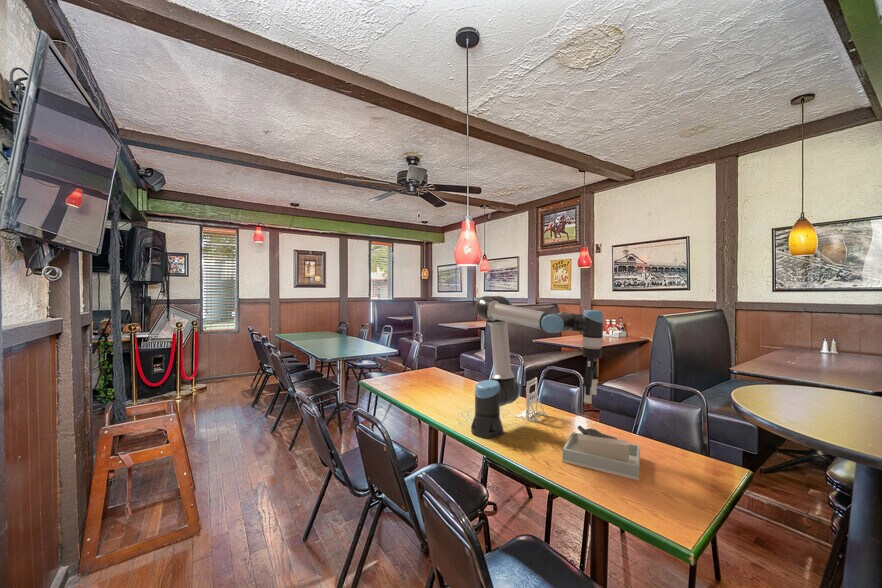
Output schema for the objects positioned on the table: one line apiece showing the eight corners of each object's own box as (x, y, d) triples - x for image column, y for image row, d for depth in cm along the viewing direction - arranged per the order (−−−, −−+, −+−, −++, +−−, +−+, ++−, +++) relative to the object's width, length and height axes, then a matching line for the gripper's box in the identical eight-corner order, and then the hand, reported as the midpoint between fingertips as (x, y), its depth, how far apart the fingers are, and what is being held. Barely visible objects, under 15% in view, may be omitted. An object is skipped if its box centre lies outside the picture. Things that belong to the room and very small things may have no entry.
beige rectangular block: (578, 454, 140) (578, 439, 140) (577, 449, 145) (577, 434, 145) (628, 461, 135) (628, 445, 135) (626, 455, 139) (626, 440, 139)
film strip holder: (523, 410, 200) (523, 374, 200) (547, 415, 191) (548, 378, 192) (512, 417, 188) (513, 379, 188) (538, 422, 180) (538, 383, 180)
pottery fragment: (619, 442, 158) (620, 432, 158) (604, 447, 151) (604, 437, 151) (590, 431, 170) (590, 422, 170) (574, 435, 164) (574, 426, 164)
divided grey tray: (562, 461, 138) (562, 448, 138) (572, 443, 155) (572, 432, 155) (638, 480, 124) (638, 466, 124) (640, 458, 142) (640, 445, 142)
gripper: (597, 352, 133) (595, 408, 133) (606, 344, 154) (604, 393, 154) (576, 350, 137) (574, 404, 137) (587, 342, 158) (586, 390, 158)
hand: (590, 398), depth 146 cm, fingers open, 13 cm apart
